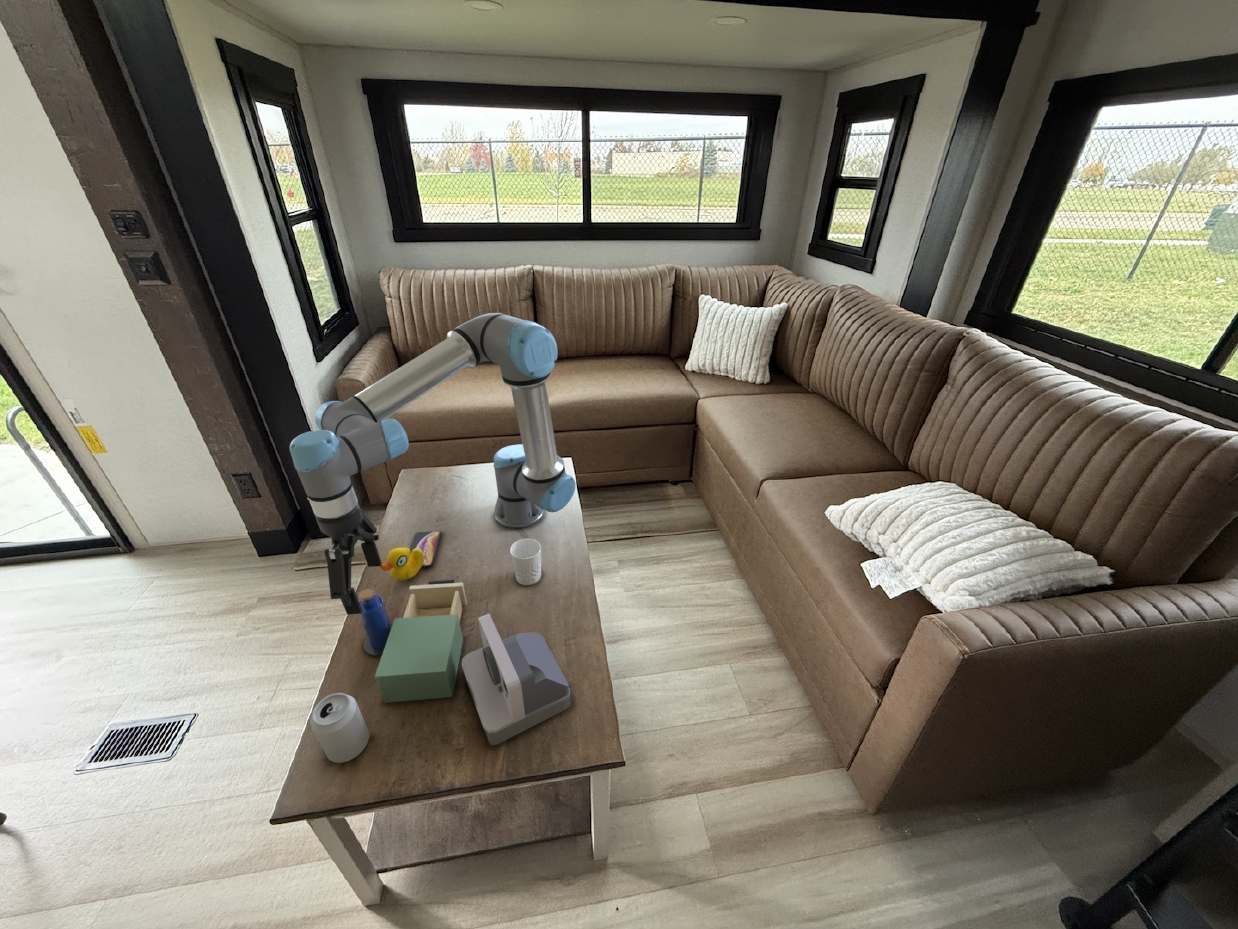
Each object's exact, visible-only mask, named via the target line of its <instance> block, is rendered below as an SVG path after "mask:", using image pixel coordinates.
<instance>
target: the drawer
mask: <svg viewBox="0 0 1238 929" xmlns="http://www.w3.org/2000/svg"><path fill="white" fill-rule="evenodd" d="M408 590H409V594H410V595H409V598H408V602H407V604H406V608H405V611H404V614H403V617H402V618H409V617H424V616H438V615H452V614H458V618H459V622H461V617H462V613H463V607H465V606H467V605H468V604H467V603H468V600H467V595H466V591H465V585H464V582H455V579H454V578H450V579H436V580H435V579H433V580H428V584H418V585H410V586H409V588H408Z"/></svg>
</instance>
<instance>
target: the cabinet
mask: <svg viewBox="0 0 1238 929" xmlns="http://www.w3.org/2000/svg"><path fill="white" fill-rule="evenodd" d="M460 622H461V621H460ZM460 622H459V618H458V614H452V615H438V616H424V617H409V618H403V617H398V618H394V620H393V622H392V624H391V626H392V628H391V631H390V634H389V637H388V640H387V643H386V645H385V648H384V651H383V654H382V655H381V657H380V660H379V663H378V666H377V668H376V671H375V674H374V679H375V681H376V684H377V686H378V690H379V692H380V694H381V697H382V699H383V701H384V703H385V704H387V703H388V704H389V703H399V702H409V701H422V700H431V699H432V700H433V699H434V700H435V699H443V698H444V699H445V698H453V697H454V696H453V695H454V691H455V685H456V680H457V674H458V670H459V664H460V658H461V654H462V649H463V643H464V637H463V632H462V627H461V623H460Z"/></svg>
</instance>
